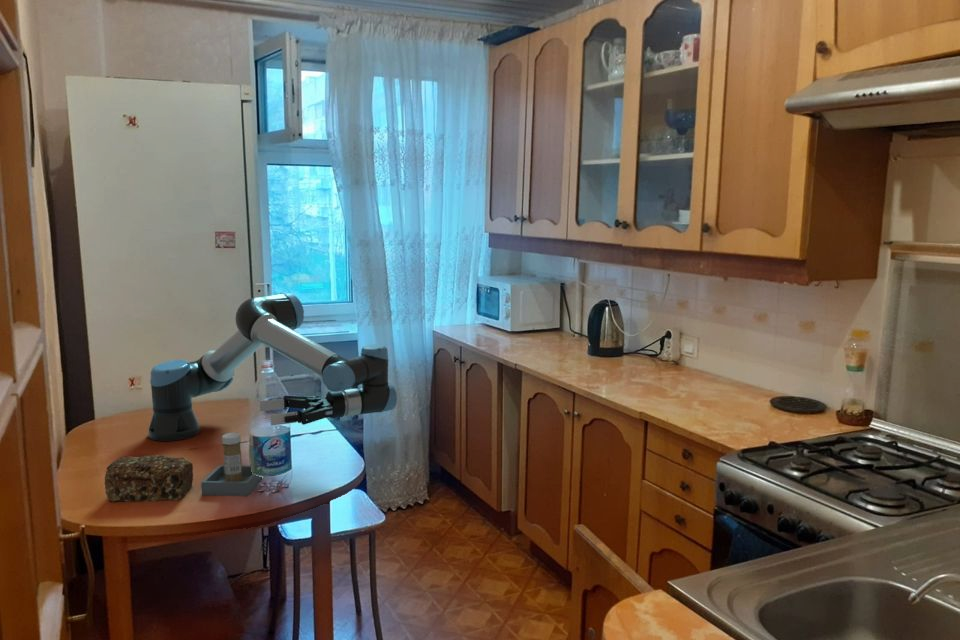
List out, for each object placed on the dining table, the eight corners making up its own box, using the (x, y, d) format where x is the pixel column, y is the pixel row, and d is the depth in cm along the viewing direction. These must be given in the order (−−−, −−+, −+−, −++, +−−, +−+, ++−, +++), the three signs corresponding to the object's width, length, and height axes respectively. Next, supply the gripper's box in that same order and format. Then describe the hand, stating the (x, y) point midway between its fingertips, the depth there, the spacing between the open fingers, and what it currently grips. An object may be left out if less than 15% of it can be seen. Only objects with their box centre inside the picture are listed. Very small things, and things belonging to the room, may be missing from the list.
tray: (201, 495, 180) (201, 482, 179) (220, 477, 192) (219, 465, 191) (248, 495, 180) (247, 482, 179) (263, 477, 191) (263, 465, 191)
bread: (105, 504, 175) (101, 466, 173) (123, 487, 185) (120, 451, 184) (181, 502, 176) (179, 464, 174) (195, 485, 186) (193, 449, 185)
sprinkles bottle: (243, 479, 188) (241, 431, 186) (242, 486, 184) (239, 437, 182) (225, 481, 187) (222, 432, 185) (223, 487, 183) (220, 438, 181)
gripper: (357, 429, 187) (276, 441, 177) (329, 404, 208) (256, 413, 198) (356, 402, 185) (275, 412, 175) (329, 380, 207) (255, 388, 197)
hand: (265, 413), depth 187 cm, fingers open, 13 cm apart
